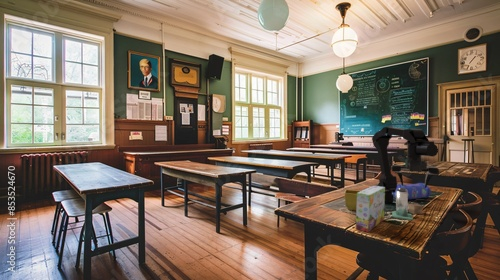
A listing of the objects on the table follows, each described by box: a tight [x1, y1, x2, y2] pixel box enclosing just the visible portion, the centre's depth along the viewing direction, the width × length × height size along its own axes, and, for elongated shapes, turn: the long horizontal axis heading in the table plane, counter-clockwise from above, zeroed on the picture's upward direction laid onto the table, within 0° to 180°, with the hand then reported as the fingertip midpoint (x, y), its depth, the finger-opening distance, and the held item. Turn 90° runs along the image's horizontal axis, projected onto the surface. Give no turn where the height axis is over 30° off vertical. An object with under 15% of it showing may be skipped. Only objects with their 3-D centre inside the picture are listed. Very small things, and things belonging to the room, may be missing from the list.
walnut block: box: [408, 203, 424, 215], centre depth 120 cm, size 4×4×4 cm
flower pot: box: [343, 189, 361, 212], centre depth 126 cm, size 9×9×9 cm
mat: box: [391, 211, 414, 221], centre depth 115 cm, size 8×8×1 cm
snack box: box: [355, 185, 385, 233], centre depth 104 cm, size 21×6×15 cm, turn 137°
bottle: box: [395, 188, 409, 216], centre depth 115 cm, size 5×5×12 cm
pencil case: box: [392, 182, 432, 200], centre depth 148 cm, size 22×9×10 cm, turn 105°
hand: (413, 187), depth 119 cm, fingers open, 9 cm apart
